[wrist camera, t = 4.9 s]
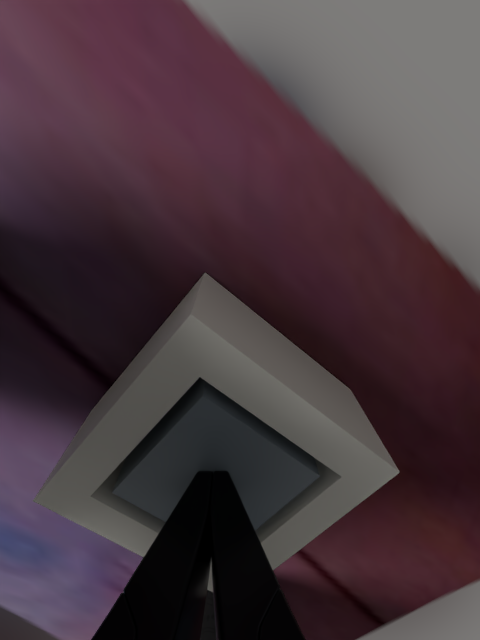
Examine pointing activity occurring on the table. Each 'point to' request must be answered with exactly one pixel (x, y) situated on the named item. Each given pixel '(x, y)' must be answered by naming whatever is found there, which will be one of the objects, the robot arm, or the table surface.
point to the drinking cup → (208, 619)
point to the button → (214, 457)
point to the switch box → (245, 389)
